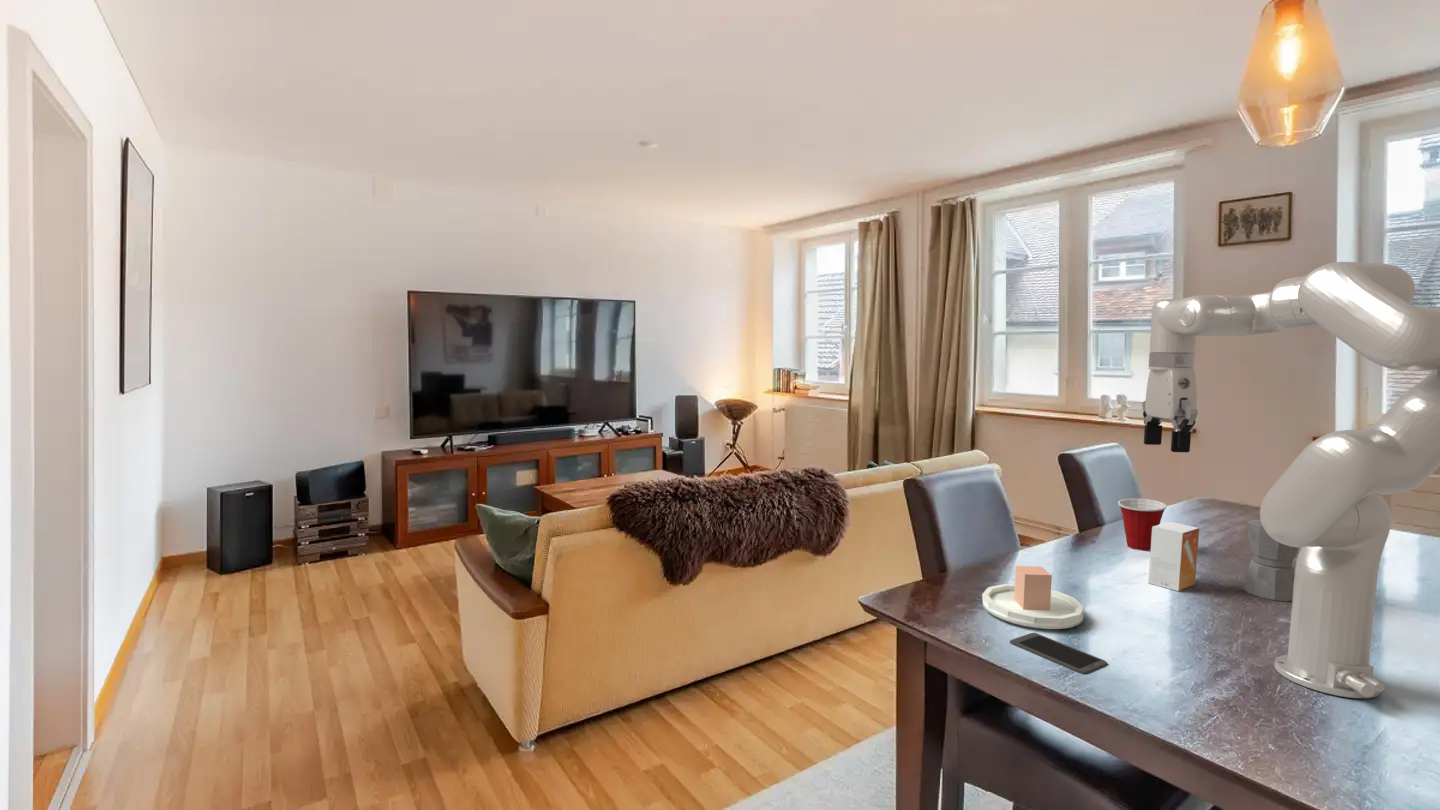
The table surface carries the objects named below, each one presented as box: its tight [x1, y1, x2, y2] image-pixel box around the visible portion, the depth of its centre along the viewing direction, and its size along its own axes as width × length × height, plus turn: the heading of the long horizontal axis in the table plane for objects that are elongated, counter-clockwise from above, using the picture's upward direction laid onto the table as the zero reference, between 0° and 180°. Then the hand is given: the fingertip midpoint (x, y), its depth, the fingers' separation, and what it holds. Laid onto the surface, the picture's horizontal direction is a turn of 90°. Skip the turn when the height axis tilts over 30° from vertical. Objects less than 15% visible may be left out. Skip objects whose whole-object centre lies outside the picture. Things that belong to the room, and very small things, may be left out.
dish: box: [981, 583, 1085, 630], centre depth 134 cm, size 18×18×3 cm
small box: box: [1147, 521, 1200, 592], centre depth 150 cm, size 8×6×13 cm
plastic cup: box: [1117, 498, 1167, 551], centre depth 177 cm, size 11×11×12 cm
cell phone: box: [1009, 632, 1108, 675], centre depth 117 cm, size 7×14×1 cm, turn 31°
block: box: [1014, 565, 1053, 610], centre depth 134 cm, size 5×5×7 cm
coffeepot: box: [1242, 518, 1299, 602], centre depth 145 cm, size 15×9×18 cm, turn 151°
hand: (1165, 448), depth 136 cm, fingers open, 9 cm apart
